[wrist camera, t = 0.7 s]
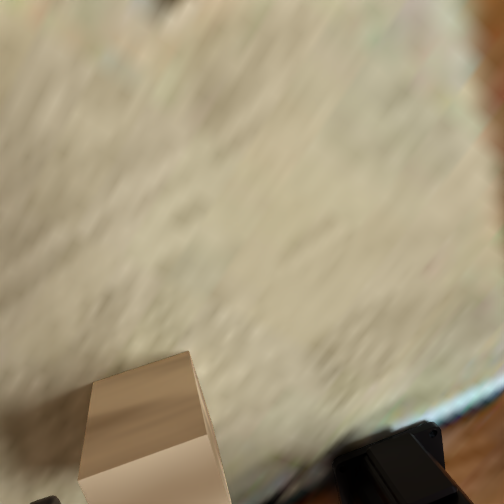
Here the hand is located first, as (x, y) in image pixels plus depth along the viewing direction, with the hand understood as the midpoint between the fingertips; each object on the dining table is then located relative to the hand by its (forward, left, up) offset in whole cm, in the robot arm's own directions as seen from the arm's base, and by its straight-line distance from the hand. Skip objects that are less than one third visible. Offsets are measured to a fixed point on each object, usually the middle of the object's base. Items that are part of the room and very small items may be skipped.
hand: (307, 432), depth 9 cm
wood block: (-7, +4, -13) cm, 15 cm away
